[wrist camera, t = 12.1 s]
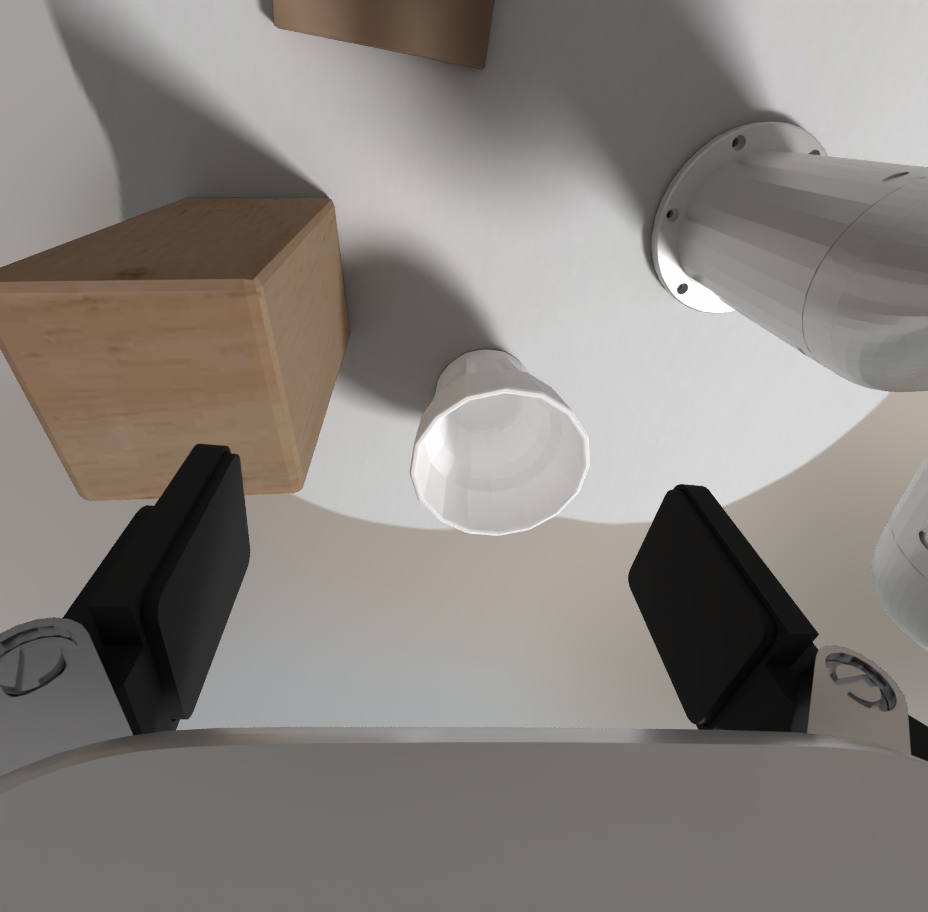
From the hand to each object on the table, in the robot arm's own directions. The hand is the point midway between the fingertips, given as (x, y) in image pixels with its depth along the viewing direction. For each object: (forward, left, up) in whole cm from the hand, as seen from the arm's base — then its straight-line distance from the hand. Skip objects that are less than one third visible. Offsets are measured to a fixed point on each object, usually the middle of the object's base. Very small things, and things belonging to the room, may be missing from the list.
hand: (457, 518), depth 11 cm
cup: (-6, +12, -31) cm, 33 cm away
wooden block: (+11, +4, -31) cm, 33 cm away
